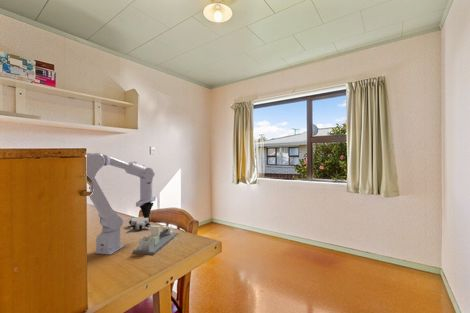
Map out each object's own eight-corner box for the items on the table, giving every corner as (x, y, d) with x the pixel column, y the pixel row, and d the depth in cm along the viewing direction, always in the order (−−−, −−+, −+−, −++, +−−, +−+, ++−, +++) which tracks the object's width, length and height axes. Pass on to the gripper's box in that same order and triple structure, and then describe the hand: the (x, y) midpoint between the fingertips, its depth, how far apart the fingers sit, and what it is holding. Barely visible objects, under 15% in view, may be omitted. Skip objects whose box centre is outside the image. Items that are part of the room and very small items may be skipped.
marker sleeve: (154, 245, 101) (154, 229, 101) (146, 244, 102) (146, 228, 102) (160, 241, 106) (159, 226, 106) (152, 241, 106) (152, 225, 106)
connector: (149, 251, 96) (149, 241, 96) (138, 250, 97) (138, 240, 97) (155, 246, 101) (155, 236, 101) (145, 245, 102) (145, 236, 102)
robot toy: (152, 231, 127) (150, 221, 140) (152, 223, 127) (150, 214, 140) (128, 234, 122) (128, 224, 135) (128, 226, 121) (128, 217, 135)
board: (154, 254, 95) (154, 243, 95) (132, 252, 97) (132, 242, 97) (177, 234, 118) (177, 225, 118) (160, 233, 120) (160, 224, 120)
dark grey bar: (147, 246, 98) (147, 243, 98) (144, 246, 98) (144, 243, 98) (168, 230, 117) (168, 228, 117) (166, 230, 117) (166, 228, 117)
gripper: (145, 193, 106) (145, 222, 106) (160, 188, 120) (160, 214, 120) (131, 193, 107) (132, 221, 107) (148, 188, 121) (148, 213, 122)
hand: (146, 217), depth 114 cm, fingers closed
